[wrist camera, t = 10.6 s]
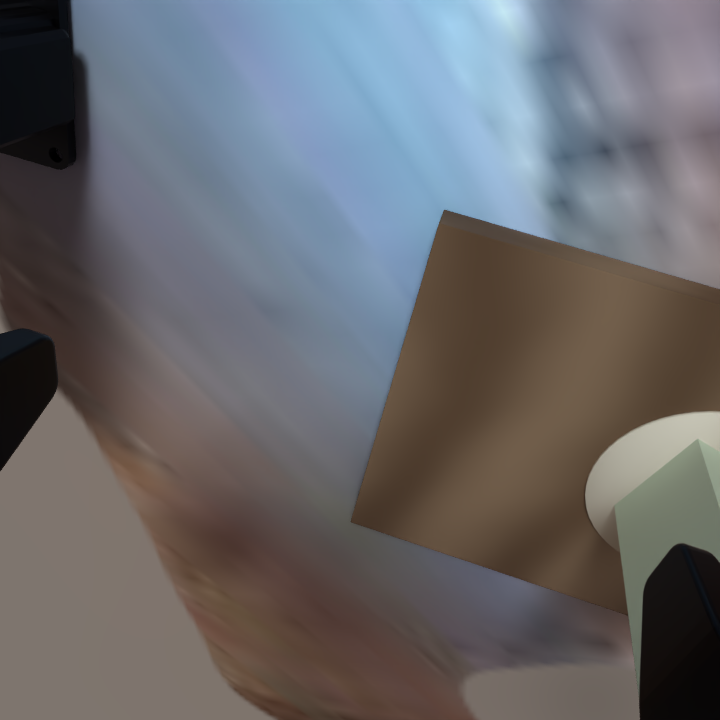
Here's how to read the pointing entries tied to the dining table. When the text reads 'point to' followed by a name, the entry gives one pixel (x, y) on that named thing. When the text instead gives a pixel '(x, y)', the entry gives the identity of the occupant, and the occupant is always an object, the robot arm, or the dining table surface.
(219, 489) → the dining table surface
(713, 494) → the sage block
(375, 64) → the dining table surface
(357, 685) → the dining table surface
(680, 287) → the walnut board
